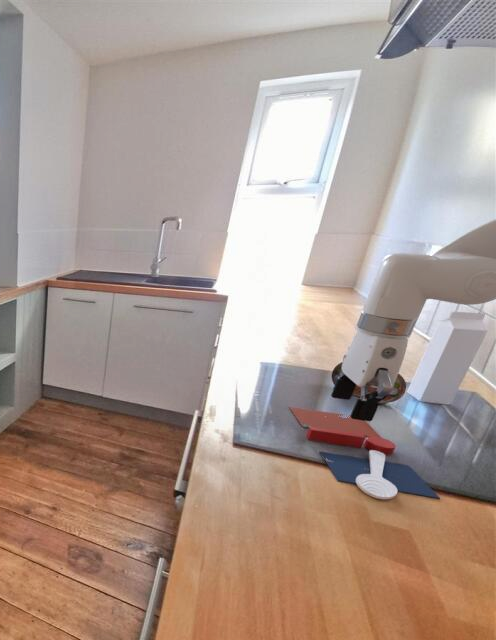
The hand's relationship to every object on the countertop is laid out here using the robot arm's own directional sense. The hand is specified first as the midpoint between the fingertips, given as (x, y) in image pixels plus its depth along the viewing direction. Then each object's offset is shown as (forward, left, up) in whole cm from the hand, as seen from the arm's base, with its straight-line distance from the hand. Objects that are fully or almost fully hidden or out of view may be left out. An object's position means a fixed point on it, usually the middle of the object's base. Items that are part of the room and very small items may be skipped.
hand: (349, 408), depth 82 cm
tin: (-14, -29, -8) cm, 33 cm away
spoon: (-2, +11, -8) cm, 14 cm away
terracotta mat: (-2, -10, -8) cm, 13 cm away
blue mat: (-2, +11, -8) cm, 13 cm away
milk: (-29, -33, -8) cm, 45 cm away
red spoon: (-2, 0, -8) cm, 8 cm away
